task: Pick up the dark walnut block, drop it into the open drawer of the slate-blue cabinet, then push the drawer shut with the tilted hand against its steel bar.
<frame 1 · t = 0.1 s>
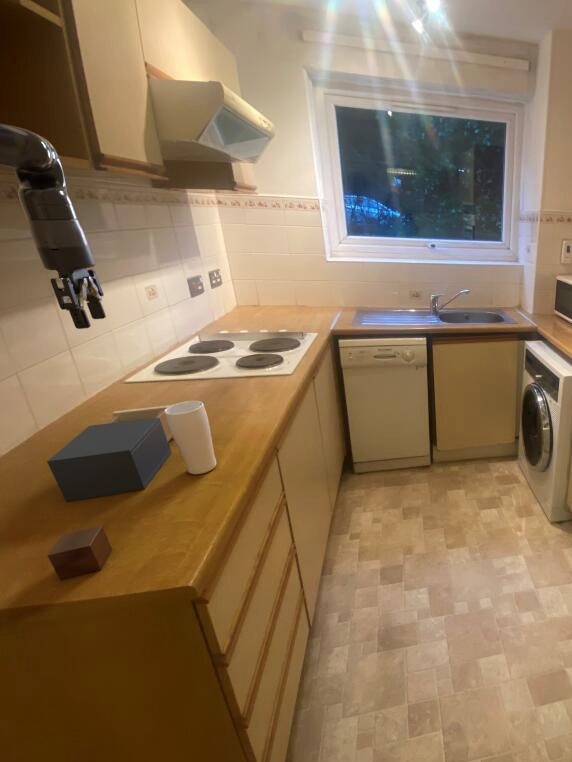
hand: (92, 323, 92), 30 cm above the countertop, tool pointing down, fingers open, 8 cm apart
cabinet: (123, 475, 93), on the countertop
block: (87, 564, 70), on the countertop
drinking glass: (203, 469, 95), on the countertop
drawer: (140, 430, 101), point 5 cm above the countertop, slide at 8.0 cm
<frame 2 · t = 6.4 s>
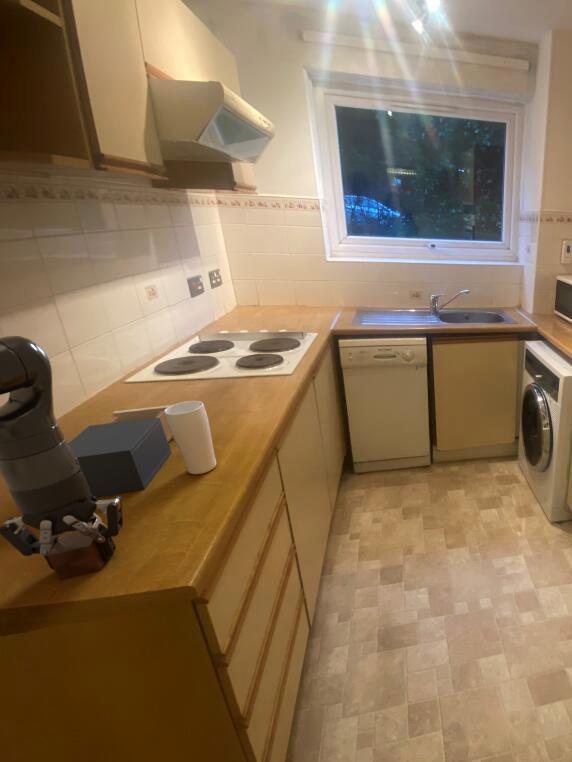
hand: (86, 562, 70), 0 cm above the countertop, tool pointing down, fingers closed on block, 5 cm apart
block: (87, 564, 70), on the countertop, touching gripper
everything else where it was.
when the fingers open (8 cm above the countertop, at t = 13.6 s): block drops 6 cm, resting on drawer.
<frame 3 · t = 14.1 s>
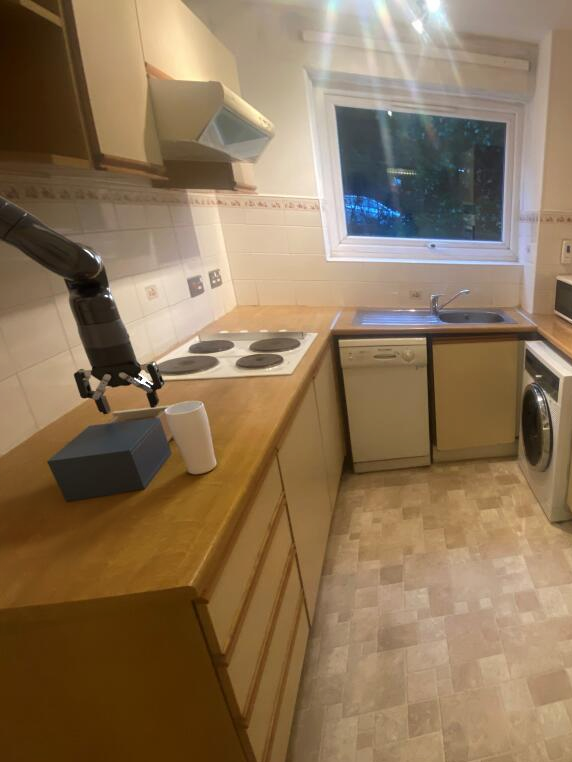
hand: (131, 409, 99), 10 cm above the countertop, tool pointing down, fingers open, 8 cm apart
block: (142, 441, 102), point 2 cm above the countertop, touching drawer
drawer: (140, 430, 101), point 5 cm above the countertop, slide at 8.0 cm, touching block
everything else where it was.
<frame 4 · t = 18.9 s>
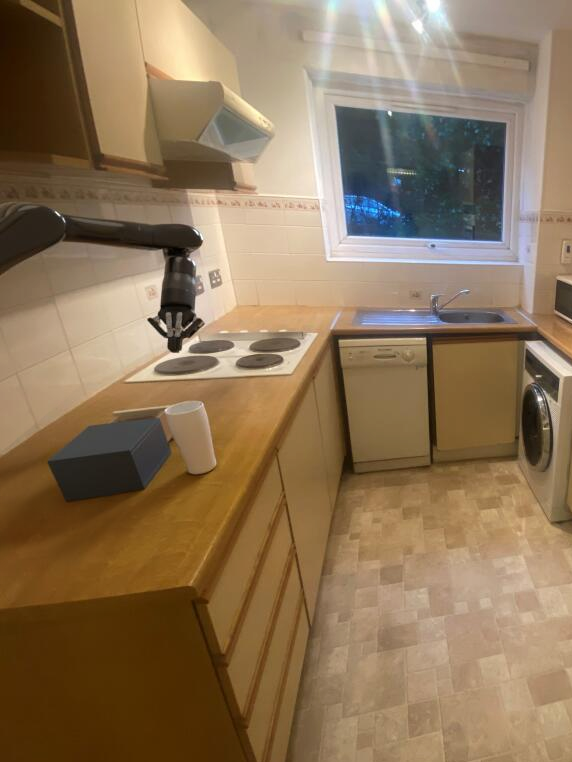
hand: (174, 351, 116), 17 cm above the countertop, tool tilted 40°, fingers closed
nothing on the countertop moved.
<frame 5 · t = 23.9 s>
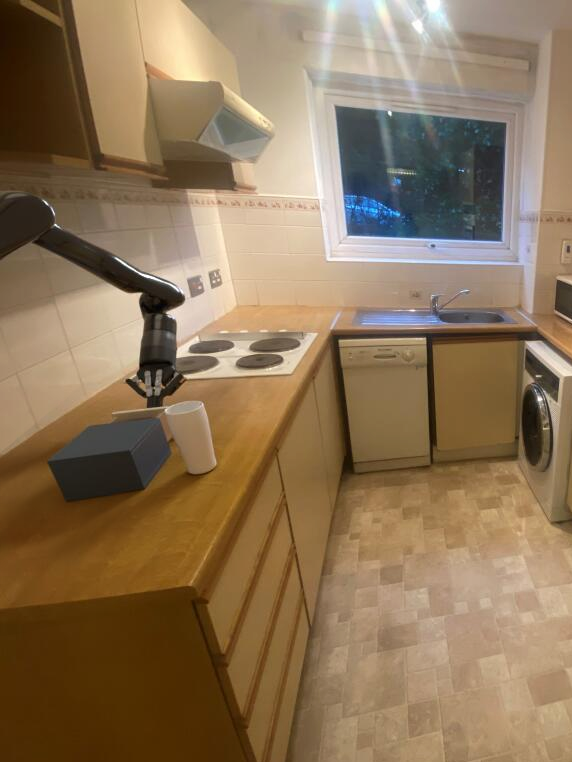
hand: (154, 411, 109), 5 cm above the countertop, tool tilted 45°, fingers closed
drawer: (139, 431, 101), point 5 cm above the countertop, slide at 7.6 cm, touching block, gripper
everything else where it was.
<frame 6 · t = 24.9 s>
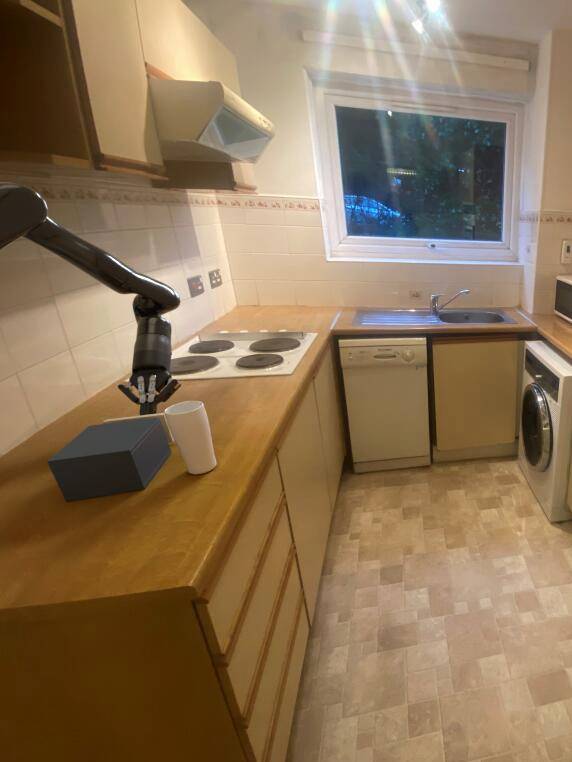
hand: (147, 418, 105), 5 cm above the countertop, tool tilted 45°, fingers closed
block: (134, 450, 98), point 2 cm above the countertop, touching drawer
drawer: (132, 439, 97), point 5 cm above the countertop, slide at 3.6 cm, touching block, gripper
everything else where it was.
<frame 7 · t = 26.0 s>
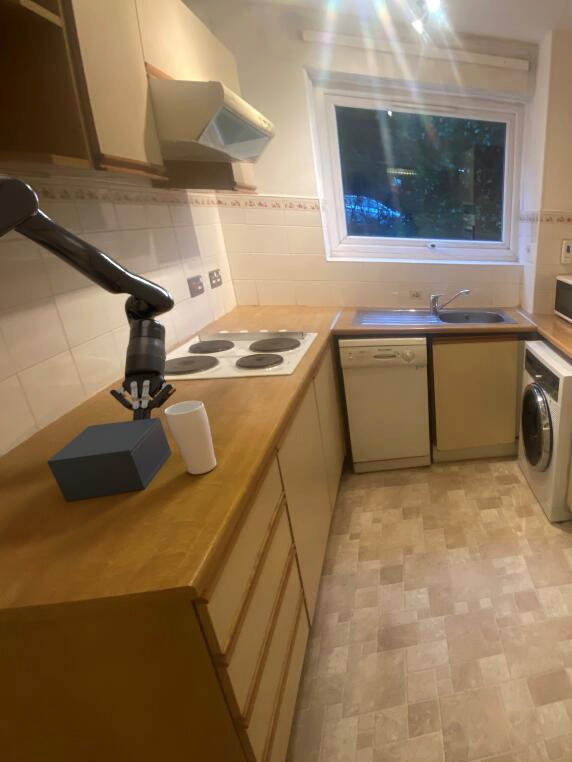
hand: (141, 425, 102), 5 cm above the countertop, tool tilted 45°, fingers closed
block: (127, 458, 95), point 2 cm above the countertop, touching drawer
drawer: (124, 447, 94), point 5 cm above the countertop, slide at 0.0 cm, touching block, cabinet, gripper
everything else where it was.
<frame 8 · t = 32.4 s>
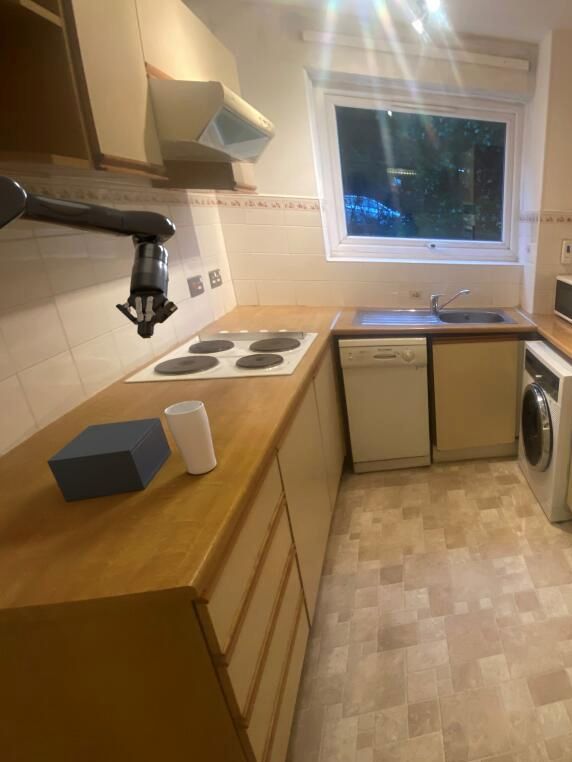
hand: (145, 336, 108), 23 cm above the countertop, tool tilted 45°, fingers closed
drawer: (124, 447, 94), point 5 cm above the countertop, slide at 0.0 cm, touching block
everything else where it was.
at the end: block inside the target area in the cabinet (3.3 cm from its centre), point 2.1 cm above the cabinet's base; drawer slide at 0.0 cm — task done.
